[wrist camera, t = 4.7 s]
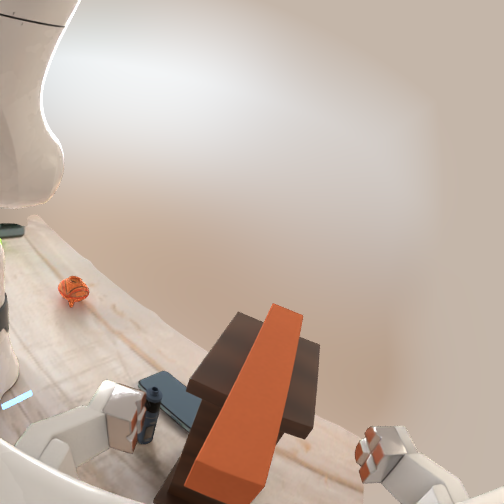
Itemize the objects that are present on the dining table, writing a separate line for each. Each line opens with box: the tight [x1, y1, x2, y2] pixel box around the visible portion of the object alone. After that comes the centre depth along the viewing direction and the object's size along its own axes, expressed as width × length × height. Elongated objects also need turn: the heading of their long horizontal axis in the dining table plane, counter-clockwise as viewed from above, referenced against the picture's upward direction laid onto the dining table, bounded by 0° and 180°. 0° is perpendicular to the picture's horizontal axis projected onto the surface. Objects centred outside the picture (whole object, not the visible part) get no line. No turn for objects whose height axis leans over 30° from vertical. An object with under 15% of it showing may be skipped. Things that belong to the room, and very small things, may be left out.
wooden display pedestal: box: [153, 312, 320, 504], centre depth 31 cm, size 14×10×26 cm
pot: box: [58, 276, 89, 308], centre depth 65 cm, size 8×8×7 cm
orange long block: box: [184, 304, 303, 504], centre depth 23 cm, size 22×4×3 cm, turn 167°
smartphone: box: [138, 371, 202, 432], centre depth 50 cm, size 8×2×15 cm
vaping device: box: [138, 386, 163, 444], centre depth 39 cm, size 3×5×12 cm, turn 46°
